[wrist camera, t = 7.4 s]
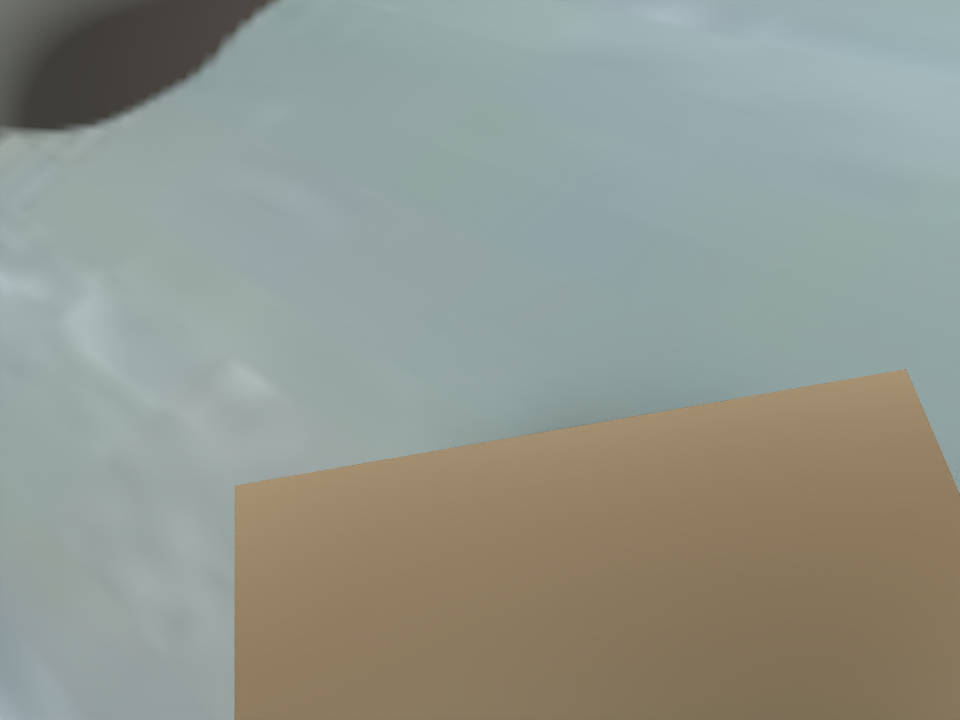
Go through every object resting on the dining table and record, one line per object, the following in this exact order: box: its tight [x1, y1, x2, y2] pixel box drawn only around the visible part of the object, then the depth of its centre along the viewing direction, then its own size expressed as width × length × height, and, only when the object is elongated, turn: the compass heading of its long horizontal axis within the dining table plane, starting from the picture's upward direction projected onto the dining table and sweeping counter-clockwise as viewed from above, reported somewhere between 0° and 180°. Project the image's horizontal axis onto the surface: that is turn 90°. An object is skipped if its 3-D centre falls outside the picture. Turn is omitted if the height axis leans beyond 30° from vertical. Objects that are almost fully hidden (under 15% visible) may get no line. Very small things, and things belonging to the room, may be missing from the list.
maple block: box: [235, 369, 960, 720], centre depth 8 cm, size 5×5×11 cm
